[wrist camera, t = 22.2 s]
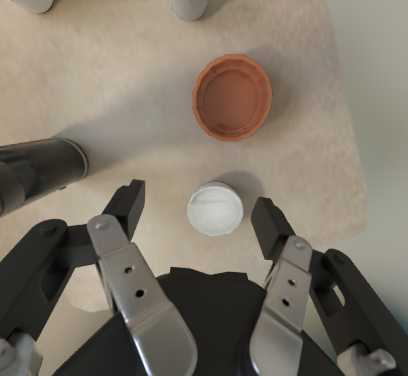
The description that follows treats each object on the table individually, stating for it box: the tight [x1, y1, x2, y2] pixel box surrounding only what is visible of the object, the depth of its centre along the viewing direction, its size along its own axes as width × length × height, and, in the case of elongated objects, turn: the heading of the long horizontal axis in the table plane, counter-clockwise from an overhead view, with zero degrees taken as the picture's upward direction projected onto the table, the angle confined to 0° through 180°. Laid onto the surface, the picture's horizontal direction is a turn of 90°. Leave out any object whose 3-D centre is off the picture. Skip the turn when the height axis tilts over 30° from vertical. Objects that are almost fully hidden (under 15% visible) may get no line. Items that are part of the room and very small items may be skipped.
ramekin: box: [187, 182, 244, 236], centre depth 39 cm, size 11×11×5 cm
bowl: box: [193, 54, 273, 141], centre depth 31 cm, size 12×12×5 cm
